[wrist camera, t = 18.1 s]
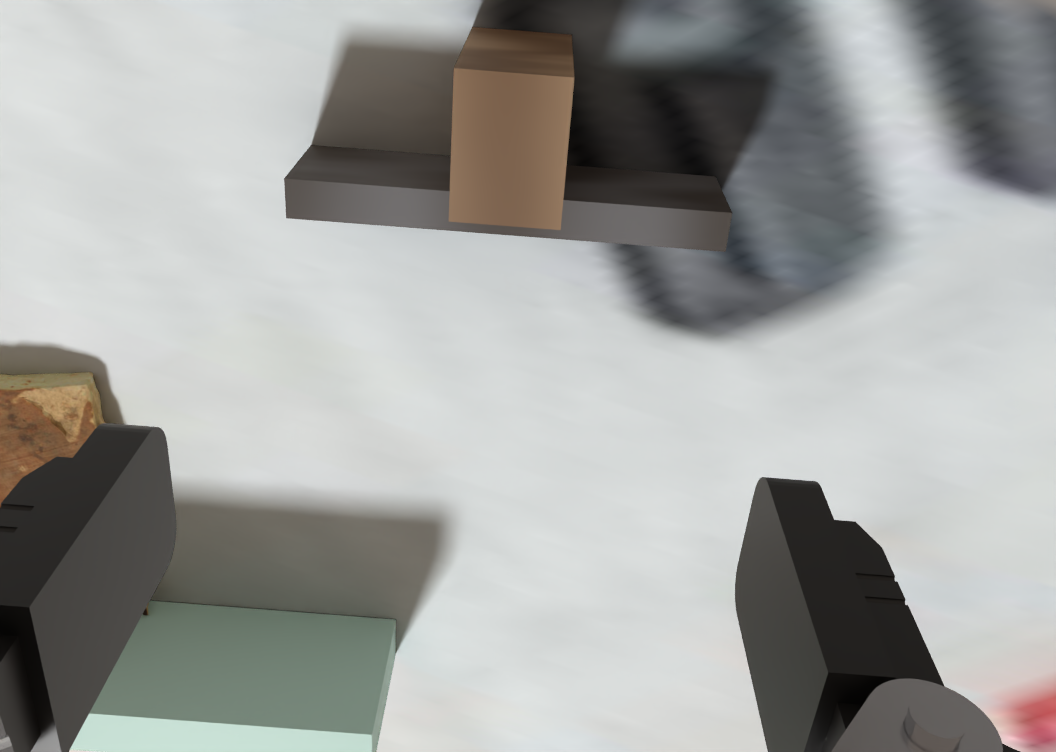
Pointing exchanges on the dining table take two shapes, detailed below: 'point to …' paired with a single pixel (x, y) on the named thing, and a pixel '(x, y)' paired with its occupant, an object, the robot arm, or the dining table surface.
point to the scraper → (510, 165)
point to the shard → (44, 421)
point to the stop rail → (244, 683)
